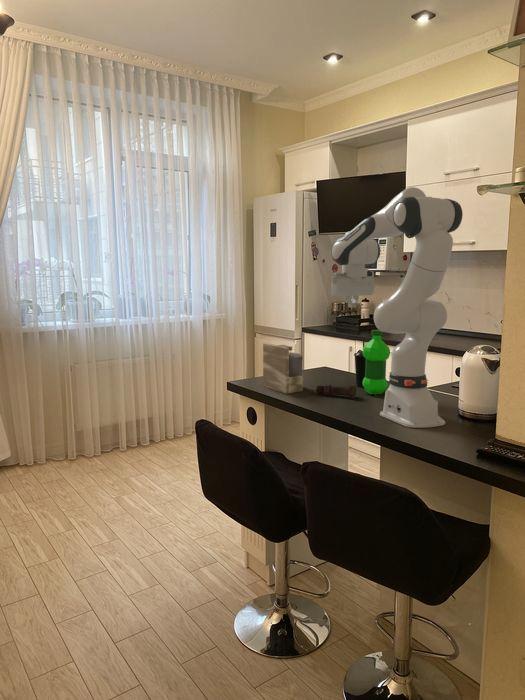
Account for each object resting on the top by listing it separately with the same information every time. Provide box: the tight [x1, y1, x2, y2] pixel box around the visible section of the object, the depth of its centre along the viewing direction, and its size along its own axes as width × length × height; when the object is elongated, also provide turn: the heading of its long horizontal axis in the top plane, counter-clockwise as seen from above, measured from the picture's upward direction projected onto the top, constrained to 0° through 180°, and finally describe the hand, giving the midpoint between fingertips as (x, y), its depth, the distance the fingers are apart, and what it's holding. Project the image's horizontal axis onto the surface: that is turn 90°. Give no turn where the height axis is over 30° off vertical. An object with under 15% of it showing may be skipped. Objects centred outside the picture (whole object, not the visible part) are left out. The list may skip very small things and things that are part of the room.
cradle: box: [262, 342, 304, 395], centre depth 218 cm, size 9×16×18 cm, turn 33°
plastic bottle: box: [362, 329, 391, 396], centre depth 210 cm, size 10×10×25 cm
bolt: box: [315, 383, 357, 400], centre depth 207 cm, size 6×5×15 cm
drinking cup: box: [353, 338, 366, 388], centre depth 222 cm, size 8×8×20 cm
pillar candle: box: [289, 350, 303, 377], centre depth 220 cm, size 10×10×15 cm
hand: (352, 307), depth 215 cm, fingers closed
